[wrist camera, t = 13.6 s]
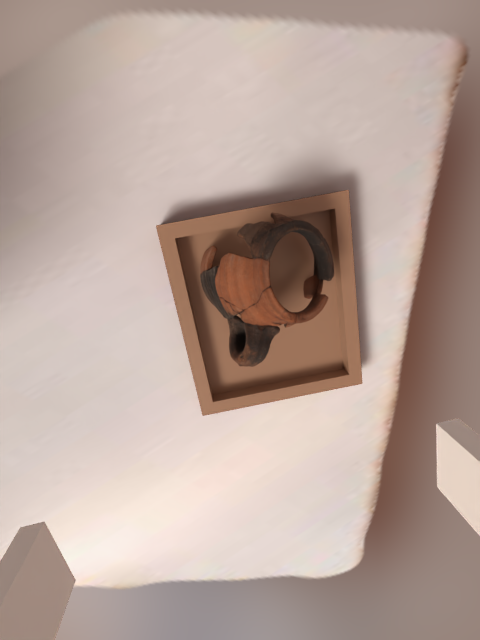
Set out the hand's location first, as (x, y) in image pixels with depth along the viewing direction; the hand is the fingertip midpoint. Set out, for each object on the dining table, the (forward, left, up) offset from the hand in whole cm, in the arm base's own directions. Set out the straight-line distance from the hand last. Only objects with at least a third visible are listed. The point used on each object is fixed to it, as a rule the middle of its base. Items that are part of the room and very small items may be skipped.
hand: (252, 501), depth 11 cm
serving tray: (+4, +1, -20) cm, 21 cm away
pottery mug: (+3, +3, -20) cm, 20 cm away
